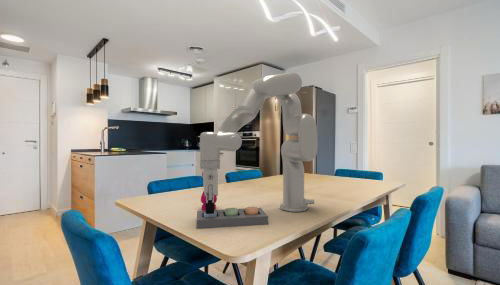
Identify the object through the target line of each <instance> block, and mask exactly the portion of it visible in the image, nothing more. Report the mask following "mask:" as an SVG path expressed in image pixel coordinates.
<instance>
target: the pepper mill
mask: <svg viewBox="0 0 500 285" xmlns="http://www.w3.org/2000/svg"><path fill="white" fill-rule="evenodd" d="M201 172H202V173H201V175H202V177H203V171H201ZM217 200H218V196H216V195H215V194H214V210H217V206H216V203H217ZM200 202H201V203H202V205H201V211H204V210H206V196H205V194H204V190H203V191H202V194H201V196H200Z"/></svg>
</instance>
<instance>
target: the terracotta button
mask: <svg viewBox="0 0 500 285" xmlns="http://www.w3.org/2000/svg"><path fill="white" fill-rule="evenodd" d="M258 208H259V207H257V206H256V207H255V206H248V207H244V209H245V215H255V214H258Z"/></svg>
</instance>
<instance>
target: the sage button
mask: <svg viewBox="0 0 500 285" xmlns="http://www.w3.org/2000/svg"><path fill="white" fill-rule="evenodd" d="M238 209H239V208H236V207H227V208H225V209H224V210H225V216H237V215H238Z"/></svg>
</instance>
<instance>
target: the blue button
mask: <svg viewBox="0 0 500 285" xmlns="http://www.w3.org/2000/svg"><path fill="white" fill-rule="evenodd" d="M204 217H217V212H215V211H214V214H206V212H204Z"/></svg>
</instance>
